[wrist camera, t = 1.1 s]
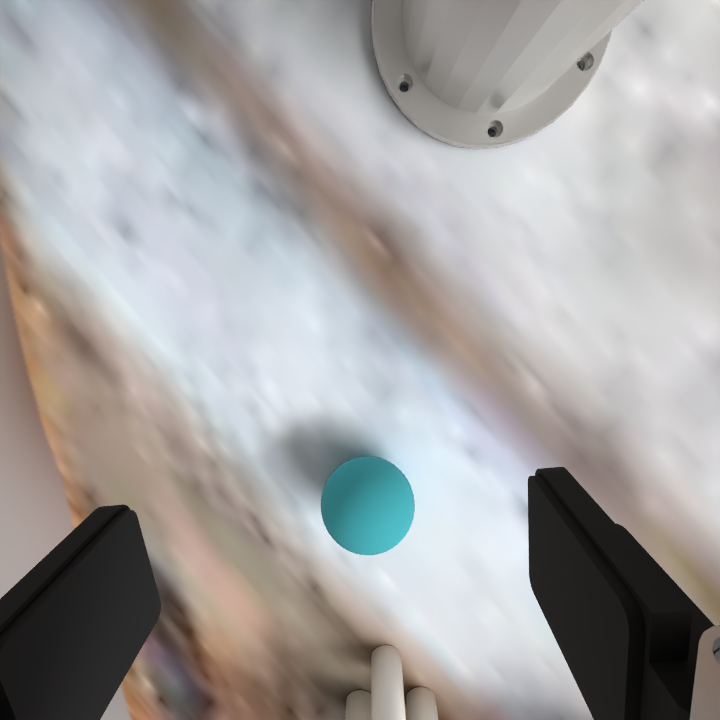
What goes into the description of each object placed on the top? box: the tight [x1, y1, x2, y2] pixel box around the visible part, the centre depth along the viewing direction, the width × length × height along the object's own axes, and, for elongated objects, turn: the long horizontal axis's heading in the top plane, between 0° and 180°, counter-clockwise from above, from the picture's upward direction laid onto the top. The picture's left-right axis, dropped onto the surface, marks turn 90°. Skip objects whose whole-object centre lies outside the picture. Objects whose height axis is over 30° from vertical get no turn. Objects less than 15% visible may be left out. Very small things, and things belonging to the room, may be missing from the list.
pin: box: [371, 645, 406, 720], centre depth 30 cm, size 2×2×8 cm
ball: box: [321, 456, 415, 555], centre depth 27 cm, size 6×6×6 cm
